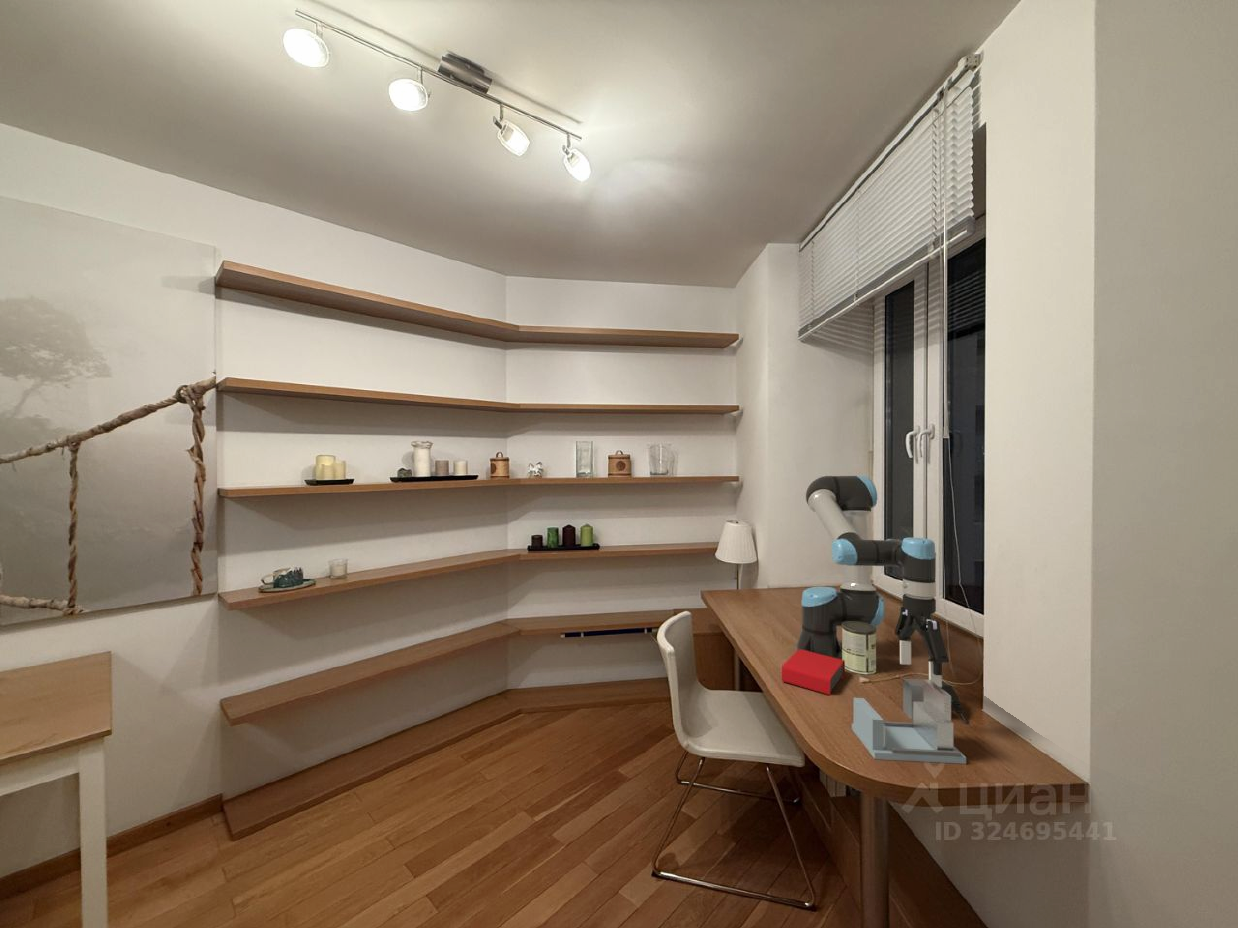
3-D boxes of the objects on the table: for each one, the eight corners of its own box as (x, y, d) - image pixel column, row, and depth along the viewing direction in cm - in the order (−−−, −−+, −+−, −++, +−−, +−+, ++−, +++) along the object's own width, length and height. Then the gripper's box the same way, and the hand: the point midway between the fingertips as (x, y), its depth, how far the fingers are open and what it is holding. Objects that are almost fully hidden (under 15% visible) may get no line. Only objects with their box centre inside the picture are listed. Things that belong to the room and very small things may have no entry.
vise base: (851, 728, 116) (851, 695, 116) (933, 732, 114) (933, 699, 114) (874, 758, 104) (874, 722, 104) (966, 763, 102) (966, 726, 102)
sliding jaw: (913, 727, 114) (913, 677, 114) (927, 727, 113) (927, 678, 113) (937, 751, 104) (937, 696, 104) (953, 751, 104) (953, 697, 104)
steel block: (903, 711, 124) (903, 678, 125) (925, 712, 124) (925, 679, 124) (911, 719, 120) (911, 685, 121) (935, 720, 120) (935, 686, 120)
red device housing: (799, 662, 156) (799, 648, 156) (844, 674, 147) (844, 659, 147) (781, 681, 142) (781, 665, 142) (830, 696, 133) (830, 679, 133)
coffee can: (842, 658, 158) (842, 618, 159) (876, 665, 153) (876, 623, 153) (840, 670, 150) (840, 627, 150) (876, 677, 144) (876, 633, 144)
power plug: (958, 722, 118) (931, 676, 127) (944, 734, 122) (920, 689, 132) (979, 721, 118) (951, 676, 127) (964, 734, 122) (938, 689, 132)
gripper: (881, 584, 135) (881, 655, 135) (932, 608, 110) (933, 696, 110) (907, 584, 135) (908, 656, 134) (965, 609, 110) (966, 697, 109)
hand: (919, 674), depth 122 cm, fingers open, 13 cm apart
